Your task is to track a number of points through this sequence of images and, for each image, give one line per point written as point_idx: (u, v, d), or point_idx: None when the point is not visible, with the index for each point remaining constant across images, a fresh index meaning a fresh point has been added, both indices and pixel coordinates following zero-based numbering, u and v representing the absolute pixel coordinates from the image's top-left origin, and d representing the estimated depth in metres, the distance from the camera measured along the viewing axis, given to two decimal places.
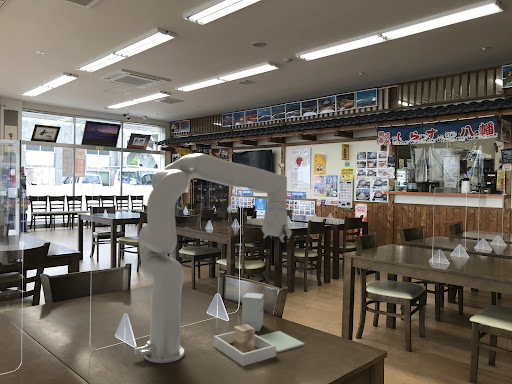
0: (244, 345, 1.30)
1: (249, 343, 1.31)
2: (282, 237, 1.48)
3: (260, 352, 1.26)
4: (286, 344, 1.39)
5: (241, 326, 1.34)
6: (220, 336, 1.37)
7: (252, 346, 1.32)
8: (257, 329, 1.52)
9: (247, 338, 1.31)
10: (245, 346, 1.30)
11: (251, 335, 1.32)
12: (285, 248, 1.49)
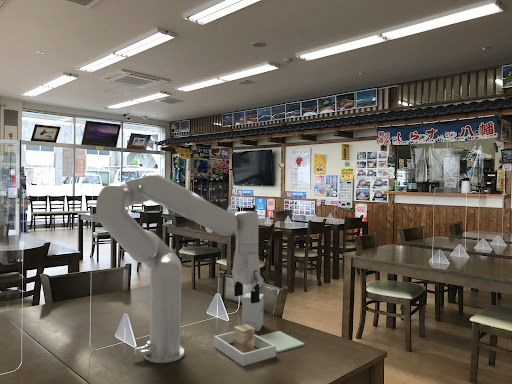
0: (244, 345, 1.30)
1: (249, 343, 1.31)
2: (253, 285, 1.28)
3: (260, 352, 1.26)
4: (286, 344, 1.39)
5: (241, 326, 1.34)
6: (220, 336, 1.37)
7: (252, 346, 1.32)
8: (257, 329, 1.52)
9: (247, 338, 1.31)
10: (245, 346, 1.30)
11: (251, 335, 1.32)
12: (257, 298, 1.28)
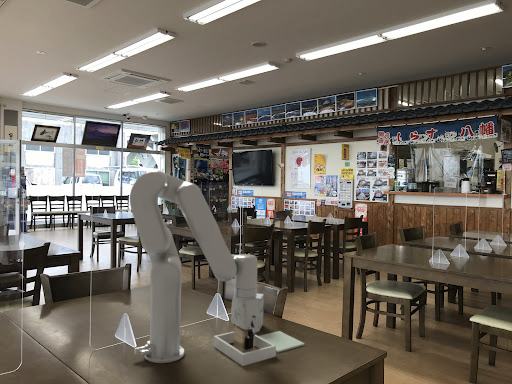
0: (244, 345, 1.30)
1: None
2: (248, 333, 1.29)
3: (260, 352, 1.26)
4: (286, 344, 1.39)
5: None
6: (220, 336, 1.37)
7: None
8: None
9: None
10: None
11: None
12: (251, 344, 1.30)
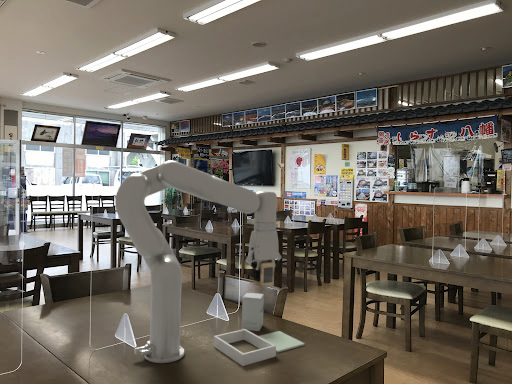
0: None
1: None
2: None
3: (260, 352, 1.26)
4: (286, 344, 1.39)
5: (266, 261, 1.38)
6: (220, 336, 1.37)
7: (260, 280, 1.34)
8: (257, 329, 1.52)
9: None
10: None
11: (260, 269, 1.34)
12: (254, 276, 1.35)
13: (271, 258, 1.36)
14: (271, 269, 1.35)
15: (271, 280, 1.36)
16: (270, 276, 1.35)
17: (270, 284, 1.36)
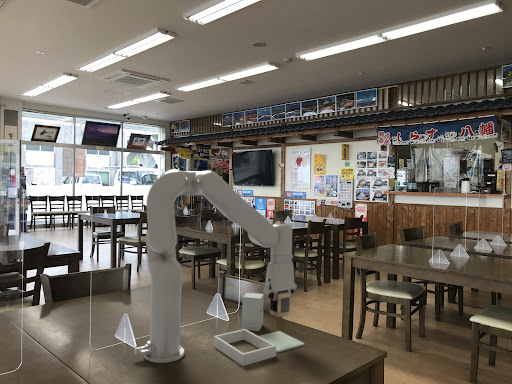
0: None
1: None
2: None
3: (260, 352, 1.26)
4: (286, 344, 1.39)
5: (283, 291, 1.43)
6: (220, 336, 1.37)
7: (277, 310, 1.39)
8: (257, 329, 1.52)
9: None
10: None
11: (277, 299, 1.39)
12: (272, 306, 1.39)
13: (287, 288, 1.41)
14: (288, 299, 1.40)
15: (288, 310, 1.40)
16: (287, 306, 1.40)
17: (287, 314, 1.40)
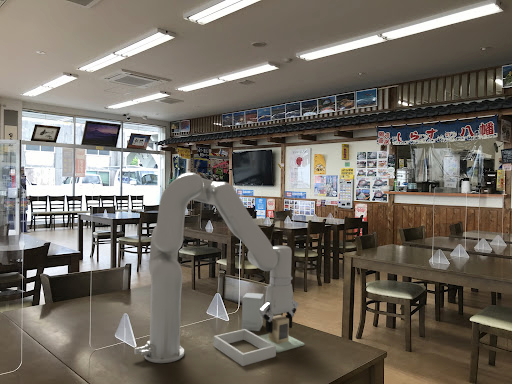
0: None
1: (273, 332, 1.40)
2: (266, 314, 1.40)
3: (260, 352, 1.26)
4: (286, 344, 1.39)
5: (281, 317, 1.43)
6: (220, 336, 1.37)
7: (276, 337, 1.39)
8: (257, 329, 1.52)
9: None
10: None
11: (275, 326, 1.39)
12: (267, 327, 1.38)
13: (286, 311, 1.41)
14: (286, 325, 1.40)
15: (286, 336, 1.40)
16: (285, 332, 1.40)
17: (285, 340, 1.40)
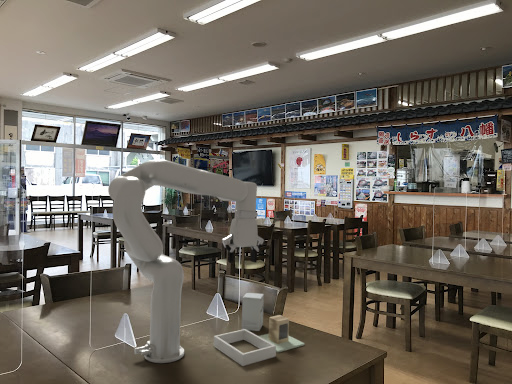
0: (270, 331, 1.41)
1: (273, 332, 1.40)
2: None
3: (260, 352, 1.26)
4: (286, 344, 1.39)
5: (281, 317, 1.43)
6: (220, 336, 1.37)
7: (276, 337, 1.39)
8: (257, 329, 1.52)
9: (272, 326, 1.41)
10: (271, 332, 1.41)
11: (275, 326, 1.39)
12: (228, 258, 1.42)
13: (250, 245, 1.44)
14: (286, 325, 1.40)
15: (286, 336, 1.40)
16: (285, 332, 1.40)
17: (285, 340, 1.40)
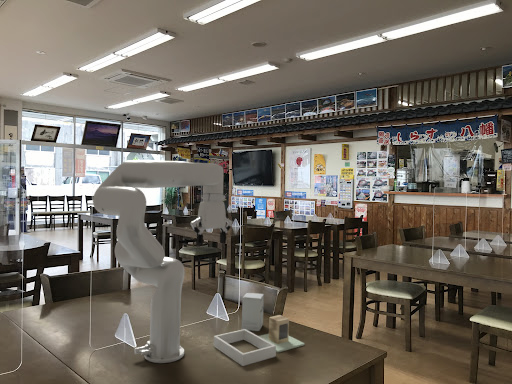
0: (270, 331, 1.41)
1: (273, 332, 1.40)
2: (197, 229, 1.46)
3: (260, 352, 1.26)
4: (286, 344, 1.39)
5: (281, 317, 1.43)
6: (220, 336, 1.37)
7: (276, 337, 1.39)
8: (257, 329, 1.52)
9: (272, 326, 1.41)
10: (271, 332, 1.41)
11: (275, 326, 1.39)
12: (197, 240, 1.45)
13: (218, 227, 1.48)
14: (286, 325, 1.40)
15: (286, 336, 1.40)
16: (285, 332, 1.40)
17: (285, 340, 1.40)
